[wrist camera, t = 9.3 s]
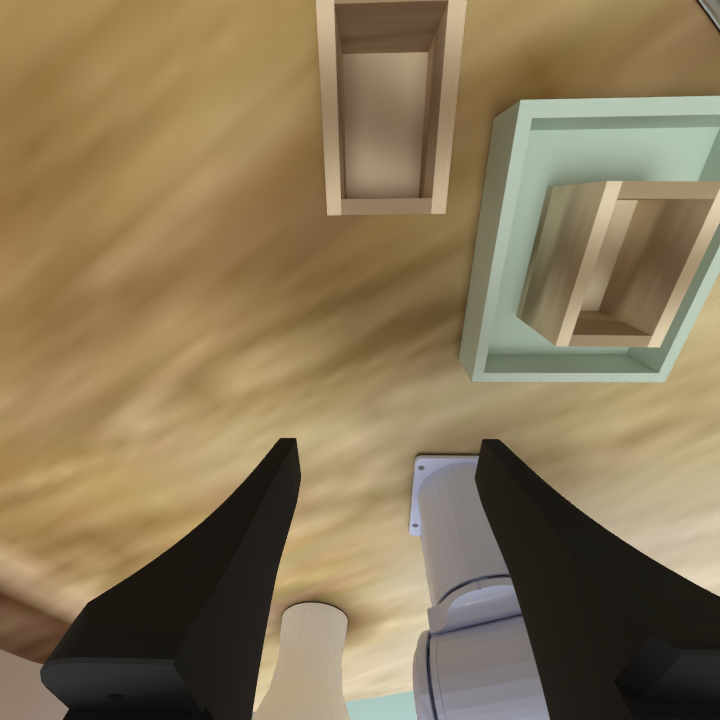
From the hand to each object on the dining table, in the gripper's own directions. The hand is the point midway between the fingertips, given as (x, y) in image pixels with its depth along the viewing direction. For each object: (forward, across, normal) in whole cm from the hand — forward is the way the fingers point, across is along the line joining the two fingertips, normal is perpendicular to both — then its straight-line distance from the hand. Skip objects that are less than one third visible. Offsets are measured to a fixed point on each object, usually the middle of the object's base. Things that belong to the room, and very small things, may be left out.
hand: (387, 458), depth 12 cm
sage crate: (+10, -11, -6) cm, 16 cm away
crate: (+10, 0, -12) cm, 16 cm away
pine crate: (+9, -11, -6) cm, 16 cm away
